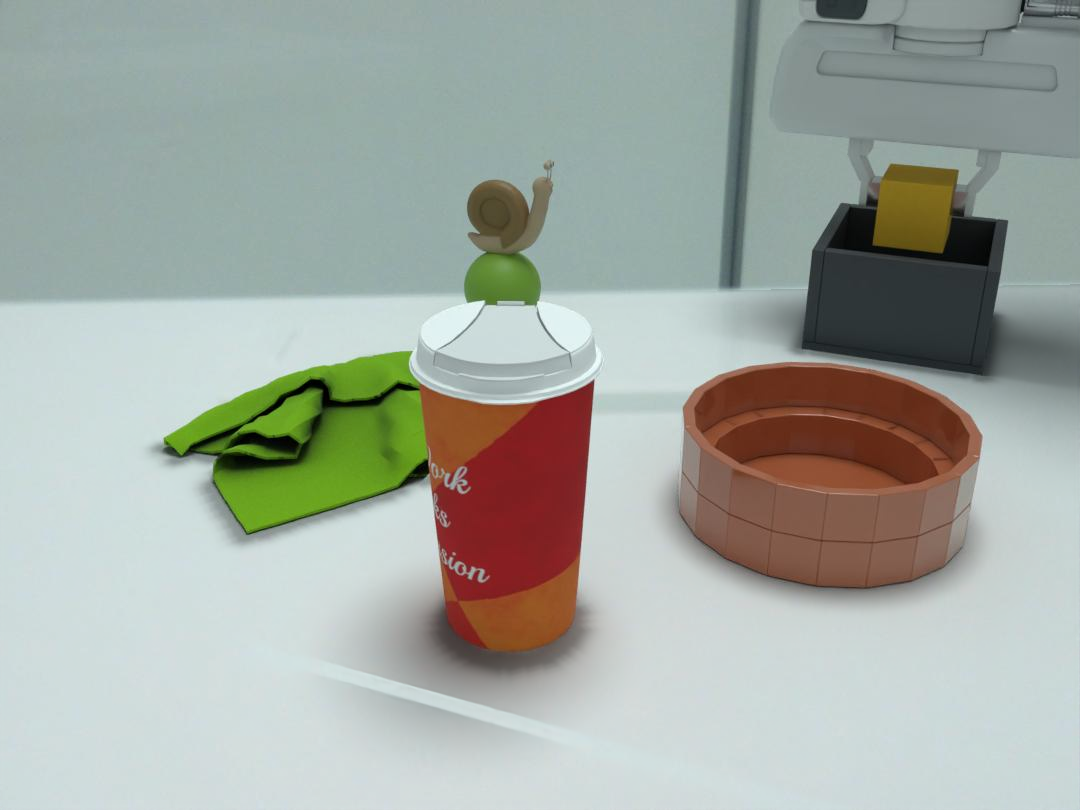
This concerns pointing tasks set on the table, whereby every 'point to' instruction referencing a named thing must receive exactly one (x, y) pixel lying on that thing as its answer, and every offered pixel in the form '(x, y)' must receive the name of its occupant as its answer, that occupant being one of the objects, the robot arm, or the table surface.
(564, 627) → the paper cup
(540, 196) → the snail figurine
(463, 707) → the table surface
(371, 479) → the cloth
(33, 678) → the table surface
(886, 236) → the toy block
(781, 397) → the bowl
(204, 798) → the table surface
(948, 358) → the bin
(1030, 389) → the table surface
